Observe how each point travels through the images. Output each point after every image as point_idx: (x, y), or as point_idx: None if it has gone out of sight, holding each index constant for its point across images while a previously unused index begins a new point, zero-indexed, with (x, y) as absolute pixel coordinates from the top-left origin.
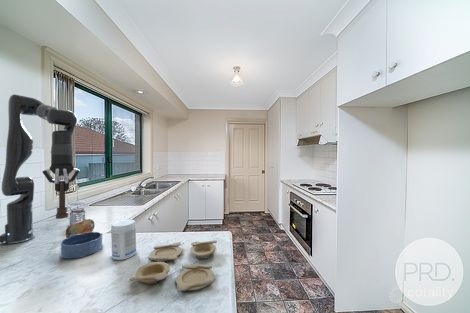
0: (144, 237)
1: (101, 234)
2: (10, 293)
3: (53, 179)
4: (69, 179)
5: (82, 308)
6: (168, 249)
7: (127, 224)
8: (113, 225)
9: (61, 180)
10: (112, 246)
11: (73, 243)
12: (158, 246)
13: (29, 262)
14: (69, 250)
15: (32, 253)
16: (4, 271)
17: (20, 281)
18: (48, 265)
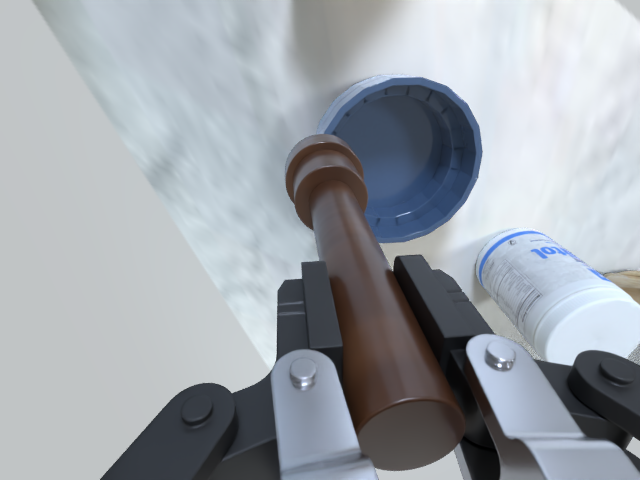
0: (630, 119)
1: (479, 156)
2: (259, 337)
3: (220, 452)
4: (553, 412)
5: None
6: (632, 289)
7: None
8: (550, 357)
9: (393, 432)
10: (496, 299)
11: (349, 114)
12: (618, 281)
13: (216, 172)
14: None
15: (178, 69)
16: (168, 211)
17: (254, 294)
18: (293, 228)
